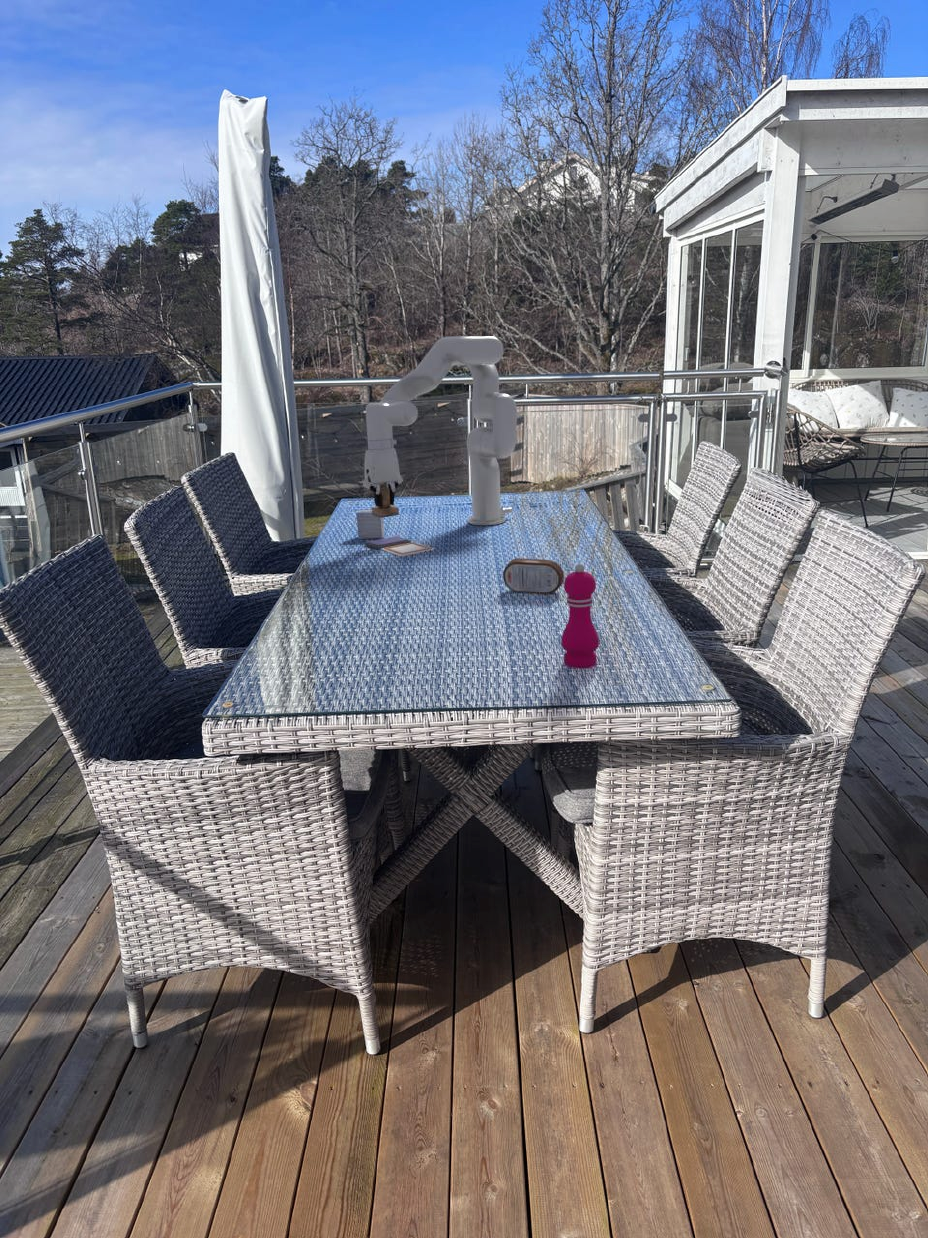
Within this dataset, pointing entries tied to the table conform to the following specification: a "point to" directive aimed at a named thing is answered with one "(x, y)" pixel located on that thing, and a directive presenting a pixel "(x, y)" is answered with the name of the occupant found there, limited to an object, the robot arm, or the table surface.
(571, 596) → the pepper mill
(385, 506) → the stamp
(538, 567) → the tin
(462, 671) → the table surface
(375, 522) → the medicine box
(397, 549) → the cream card
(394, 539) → the ink pad
